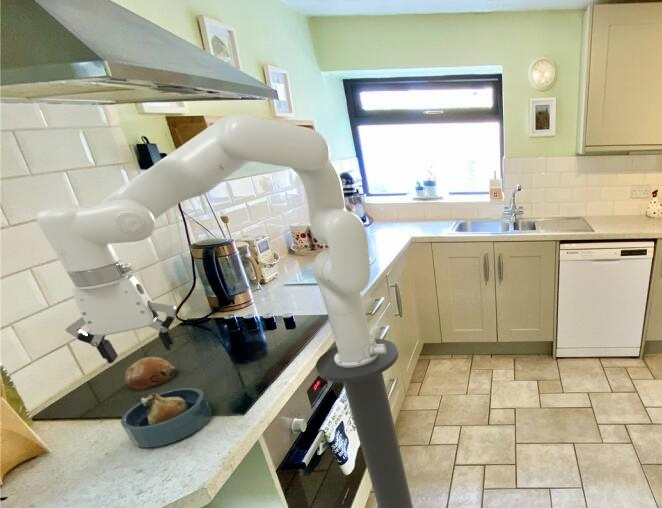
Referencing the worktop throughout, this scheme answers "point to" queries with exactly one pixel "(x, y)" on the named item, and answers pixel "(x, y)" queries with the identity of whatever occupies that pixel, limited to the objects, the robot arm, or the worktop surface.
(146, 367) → the bread roll
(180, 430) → the bowl
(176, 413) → the onion
